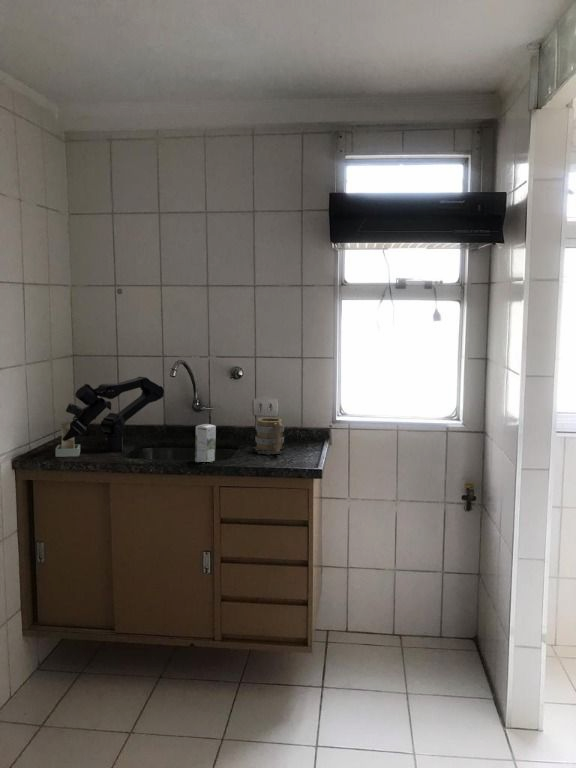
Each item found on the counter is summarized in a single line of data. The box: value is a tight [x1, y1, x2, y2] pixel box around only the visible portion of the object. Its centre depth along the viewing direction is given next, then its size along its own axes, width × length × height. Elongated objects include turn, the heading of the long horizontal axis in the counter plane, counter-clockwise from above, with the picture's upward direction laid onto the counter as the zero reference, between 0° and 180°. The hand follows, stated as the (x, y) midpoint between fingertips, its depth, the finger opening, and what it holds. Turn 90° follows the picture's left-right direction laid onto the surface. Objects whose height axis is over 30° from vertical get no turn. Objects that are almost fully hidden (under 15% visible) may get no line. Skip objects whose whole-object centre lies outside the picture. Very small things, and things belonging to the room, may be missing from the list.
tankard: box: [253, 417, 285, 452], centre depth 273 cm, size 20×13×15 cm, turn 18°
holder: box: [55, 443, 81, 458], centre depth 263 cm, size 9×9×3 cm
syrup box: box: [194, 423, 217, 463], centre depth 255 cm, size 6×6×14 cm
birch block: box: [60, 420, 76, 449], centre depth 263 cm, size 4×4×13 cm
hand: (64, 437), depth 262 cm, fingers open, 9 cm apart
